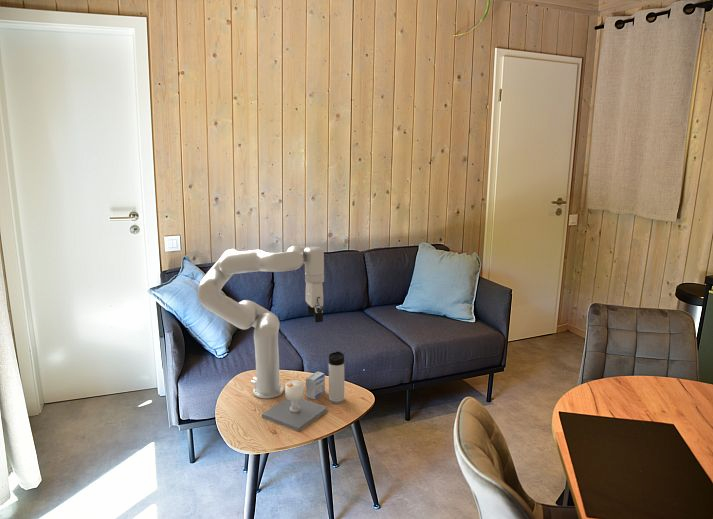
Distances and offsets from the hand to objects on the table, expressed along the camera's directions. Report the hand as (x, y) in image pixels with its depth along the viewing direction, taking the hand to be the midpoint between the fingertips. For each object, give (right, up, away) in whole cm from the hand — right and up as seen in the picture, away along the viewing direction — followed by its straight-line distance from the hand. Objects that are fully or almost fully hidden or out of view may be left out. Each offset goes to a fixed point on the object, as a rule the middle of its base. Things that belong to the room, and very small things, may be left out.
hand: (315, 318), depth 222 cm
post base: (-7, -36, -11) cm, 38 cm away
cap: (-7, -29, -13) cm, 32 cm away
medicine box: (0, -33, +4) cm, 33 cm away
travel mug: (+9, -34, 0) cm, 35 cm away
